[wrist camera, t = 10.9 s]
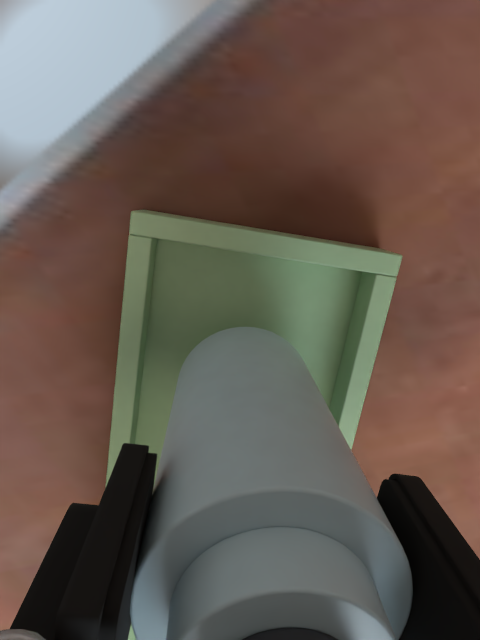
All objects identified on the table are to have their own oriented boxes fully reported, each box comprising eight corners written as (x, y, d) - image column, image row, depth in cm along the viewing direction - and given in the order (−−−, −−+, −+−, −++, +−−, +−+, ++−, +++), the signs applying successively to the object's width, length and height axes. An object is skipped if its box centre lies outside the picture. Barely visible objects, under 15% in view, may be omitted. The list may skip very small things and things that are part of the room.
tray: (141, 209, 16) (130, 210, 14) (381, 248, 17) (403, 255, 15) (93, 692, 23) (81, 740, 21) (268, 703, 24) (272, 750, 22)
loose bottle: (186, 316, 15) (82, 701, 4) (321, 336, 16) (621, 733, 4) (169, 439, 16) (54, 1013, 5) (295, 454, 17) (464, 1012, 5)
